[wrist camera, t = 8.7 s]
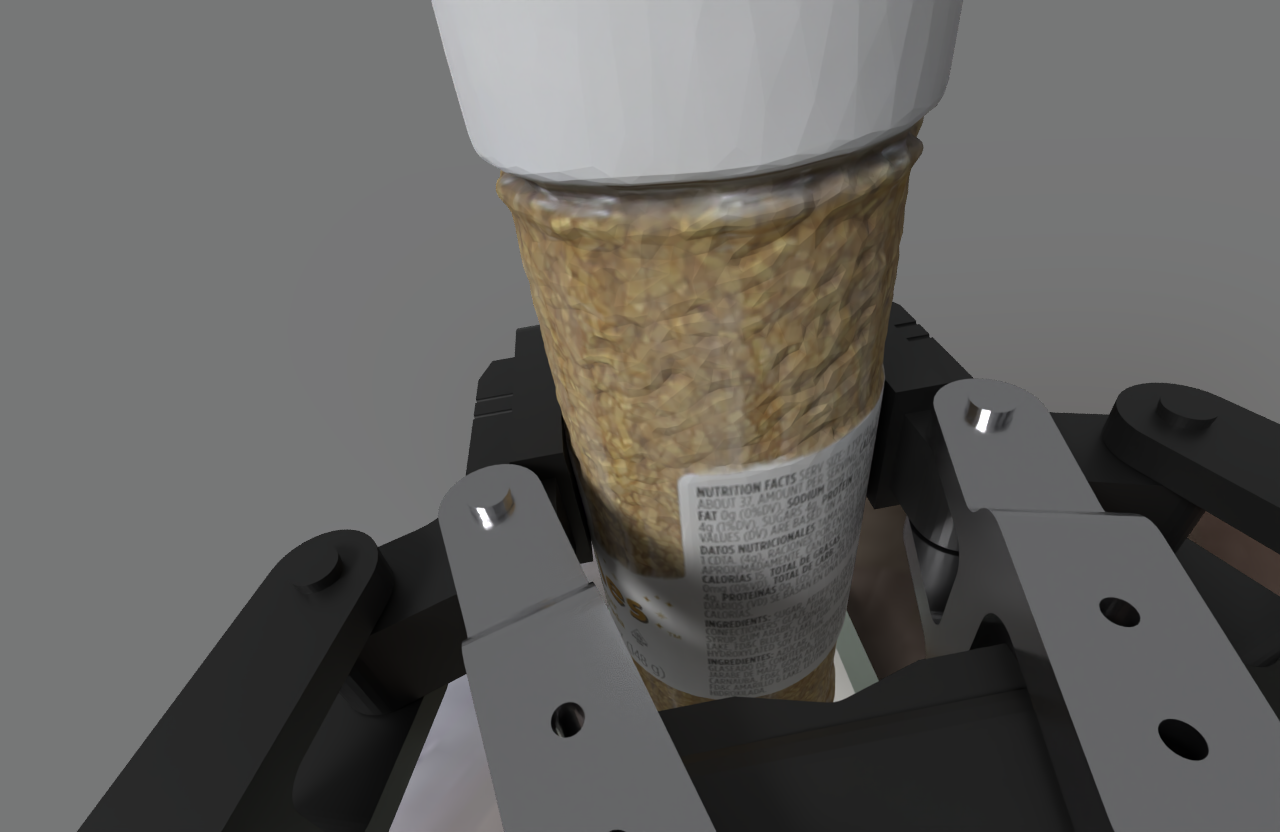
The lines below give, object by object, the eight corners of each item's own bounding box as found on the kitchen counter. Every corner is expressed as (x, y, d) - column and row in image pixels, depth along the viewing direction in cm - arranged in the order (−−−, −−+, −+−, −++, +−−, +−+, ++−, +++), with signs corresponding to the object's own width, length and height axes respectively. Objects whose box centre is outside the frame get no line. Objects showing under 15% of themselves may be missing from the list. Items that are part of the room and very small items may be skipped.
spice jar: (607, 622, 15) (406, -86, 6) (778, 565, 15) (800, -144, 7) (666, 828, 11) (388, -145, 3) (883, 743, 12) (1186, -254, 3)
